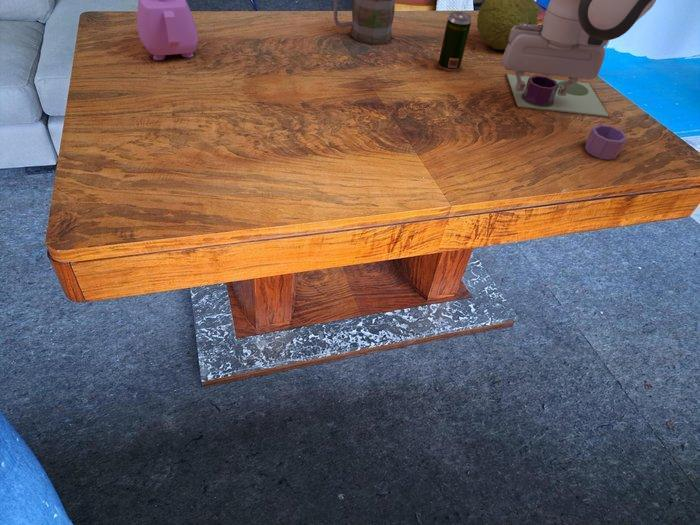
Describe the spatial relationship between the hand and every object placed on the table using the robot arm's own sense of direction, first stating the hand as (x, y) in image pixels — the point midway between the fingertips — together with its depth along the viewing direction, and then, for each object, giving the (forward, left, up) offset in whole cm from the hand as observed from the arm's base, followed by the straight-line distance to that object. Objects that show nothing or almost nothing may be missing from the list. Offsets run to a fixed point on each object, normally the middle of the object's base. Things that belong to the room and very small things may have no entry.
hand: (540, 92), depth 113 cm
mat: (-5, -4, -2) cm, 7 cm away
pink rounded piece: (+84, -5, -2) cm, 84 cm away
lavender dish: (-9, +19, -2) cm, 21 cm away
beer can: (+19, -13, -2) cm, 23 cm away
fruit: (+4, -31, -2) cm, 31 cm away
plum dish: (0, 0, -2) cm, 2 cm away
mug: (+41, -27, -2) cm, 49 cm away
